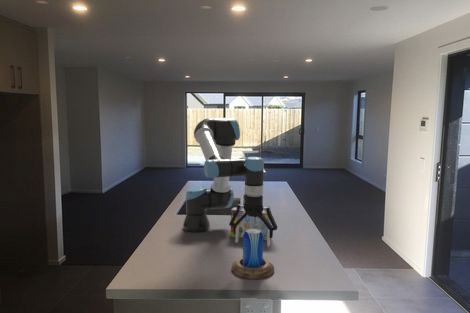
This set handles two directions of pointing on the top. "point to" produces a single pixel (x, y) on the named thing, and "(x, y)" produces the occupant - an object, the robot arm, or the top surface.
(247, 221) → the snack box
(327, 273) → the top surface
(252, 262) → the beer can
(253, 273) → the round brown bowl
